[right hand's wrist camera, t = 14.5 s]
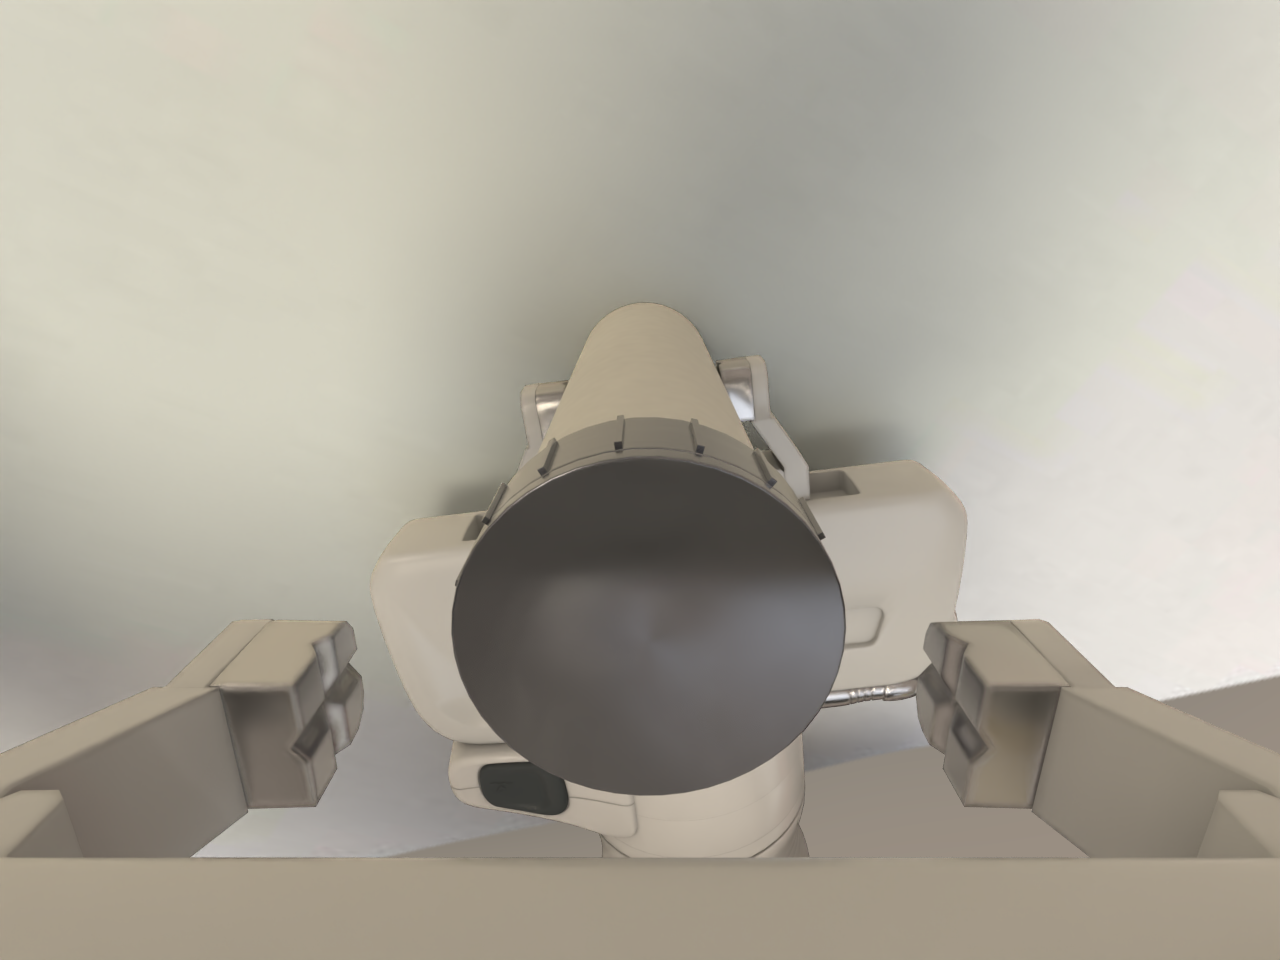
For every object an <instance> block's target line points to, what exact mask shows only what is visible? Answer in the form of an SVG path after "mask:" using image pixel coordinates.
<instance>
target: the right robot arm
mask: <svg viewBox="0 0 1280 960" xmlns="http://www.w3.org/2000/svg"><path fill="white" fill-rule="evenodd" d="M356 650H357V646H356V640H355V635H354V630H353V628H352V626H351V625H350V624H349V623H348V622H347V621H311V620H273V619H259V620H239V621H233V622H231V623H230V624H229V625H228V626H227V627H226V628H225V629H224V630H223V631H222V632H221V633H220V634H219V635H218V636H217V637H216V638H215V639H214V640H213V641H212V642H211V643H210V644H209V645H208V646H207V647H206V648H205V649H204V650H203V651H202V652H201V653H200V654H198V655H197V656H196V657H195V658H194V659H193V660H192V661H191V662H190V663H189V664H188V665H187V666H186V667H185V668H184V669H183V670H182V671H181V672H180V673H179V674H178V675H177V676H176V677H175V678H174V679H173V680H172V681H171V682H170V683H169V684H168V685H167V686H165V687H152V688H150V689H148V690H145V691H143V692H141V693H138V694H136V695H134V696H132V697H129V698H127V699H125V700H122V701H120V702H118V703H116V704H113V705H111V706H109V707H106V708H104V709H102V710H100V711H97V712H95V713H93V714H90V715H88V716H86V717H84V718H81V719H79V720H77V721H74V722H72V723H70V724H68V725H65V726H63V727H61V728H58V729H56V730H54V731H52V732H49V733H47V734H45V735H42V736H40V737H38V738H36V739H33V740H31V741H29V742H26V743H24V744H22V745H19V746H17V747H15V748H13V749H10V750H8V751H6V752H3V753H1V754H0V960H1280V754H1278V753H1276V752H1274V751H1271V750H1269V749H1267V748H1265V747H1262V746H1260V745H1258V744H1256V743H1253V742H1251V741H1249V740H1246V739H1244V738H1242V737H1240V736H1237V735H1235V734H1233V733H1231V732H1228V731H1226V730H1224V729H1221V728H1219V727H1217V726H1214V725H1212V724H1210V723H1208V722H1205V721H1203V720H1201V719H1199V718H1196V717H1194V716H1192V715H1189V714H1187V713H1185V712H1183V711H1180V710H1178V709H1176V708H1173V707H1171V706H1169V705H1167V704H1164V703H1162V702H1160V701H1158V700H1155V699H1153V698H1151V697H1148V696H1146V695H1144V694H1142V693H1139V692H1137V691H1135V690H1132V689H1130V688H1128V687H1115V686H1114V685H1113V684H1111V683H1110V682H1109V681H1108V680H1107V679H1106V678H1105V677H1104V676H1103V675H1102V674H1101V673H1100V672H1099V671H1098V670H1097V669H1096V668H1095V667H1094V666H1093V665H1092V664H1091V663H1090V662H1089V661H1088V660H1087V659H1086V658H1085V657H1084V656H1083V655H1082V654H1081V653H1080V652H1079V651H1078V650H1077V649H1075V648H1074V647H1073V646H1072V645H1071V644H1070V643H1069V642H1068V641H1067V640H1066V639H1065V638H1064V637H1063V636H1062V635H1061V634H1060V633H1059V632H1058V631H1057V630H1056V629H1055V628H1054V627H1053V626H1052V625H1051V624H1050V623H1049V622H1046V621H1043V620H1040V619H1026V620H997V621H956V622H932V623H930V625H929V627H928V629H927V631H926V634H925V639H924V645H923V650H924V651H925V653H926V654H927V656H928V658H929V659H930V661H931V662H932V663H931V664H930V665H929V666H928V667H927V668H926V669H925V670H924V671H923V672H922V673H921V674H920V675H919V676H918V685H917V693H916V701H917V712H918V718H919V721H920V725H921V728H922V731H923V733H924V735H925V737H926V739H927V741H928V743H929V744H930V745H931V746H932V747H934V748H936V749H937V750H939V751H940V752H942V753H943V754H945V759H944V765H943V770H944V771H945V773H946V775H947V777H948V779H949V780H950V782H951V784H952V786H953V788H954V789H955V791H956V793H957V795H958V796H959V798H960V800H961V802H962V803H963V805H964V807H990V808H1026V809H1032V812H1033V813H1034V814H1035V815H1037V816H1038V817H1039V818H1040V819H1042V820H1043V821H1044V822H1046V823H1047V824H1048V825H1049V826H1051V827H1052V828H1053V829H1054V830H1056V831H1057V832H1058V833H1060V834H1061V835H1062V836H1063V837H1065V838H1066V839H1067V840H1069V841H1070V842H1071V843H1072V844H1074V845H1075V846H1076V847H1078V848H1079V849H1080V850H1081V851H1083V852H1084V853H1085V854H1086V855H1088V856H1089V857H1090V858H190V857H191V856H192V855H194V854H195V853H196V852H198V851H199V850H200V849H201V848H203V847H204V846H205V845H207V844H208V843H209V842H210V841H212V840H213V839H214V838H216V837H217V836H218V835H219V834H221V833H222V832H223V831H225V830H226V829H227V828H228V827H230V826H231V825H232V824H234V823H235V822H236V821H237V820H239V819H240V818H241V817H242V816H244V815H245V814H246V813H248V809H254V808H289V807H316V805H317V804H318V802H319V800H320V798H321V796H322V795H323V793H324V791H325V789H326V788H327V786H328V784H329V782H330V780H331V779H332V777H333V775H334V773H335V772H336V770H337V765H336V759H335V754H337V753H338V752H340V751H341V750H343V749H344V748H346V747H348V746H349V745H350V744H351V742H352V741H353V739H354V737H355V735H356V733H357V731H358V729H359V725H360V720H361V716H362V712H363V699H364V690H363V683H362V676H361V675H360V674H359V673H358V672H357V671H356V670H355V669H354V668H353V667H352V666H351V665H350V664H349V663H348V662H349V661H350V659H351V658H352V656H353V654H354V653H355V651H356Z"/></svg>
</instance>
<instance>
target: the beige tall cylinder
mask: <svg viewBox="0 0 1280 960" xmlns="http://www.w3.org/2000/svg"><path fill="white" fill-rule="evenodd" d="M618 415H624V418H625V419H627V418H636V417H660V418H669V419H678V420H684V421H688V422H690V421H691V418H693V419H697V420H698V422H699V424H700V425H704V426H707V427H709V428H712V429H715V430H717V431H720V432H722V433H725V434H727V435H729V436H731V437H733V438H734V439H736V440H738V441H740V442H742V443H744V444H745V445H747V446H748V447H750V448H751V449H752V450H754V449H753V446H752V444H751V442H750V440H749V438H748V436H747V434H746V431H745V429H744V427H743V425H742V423H741V421H740V419H739V416H738V414H737V412H736V410H735V408H734V406H733V404H732V402H731V399H730V397H729V395H728V393H727V391H726V389H725V387H724V384H723V382H722V380H721V378H720V376H719V374H718V372H717V369H716V367H715V365H714V363H713V361H712V359H711V357H710V355H709V352H708V350H707V348H706V346H705V344H704V342H703V340H702V338H701V336H700V334H699V332H698V331H697V329H696V328H695V327H694V325H693V324H692V323H691V322H690V321H689V320H688V319H687V318H686V317H684V316H683V315H682V314H680V313H679V312H677V311H675V310H674V309H671V308H669V307H667V306H664V305H660V304H655V303H635V304H629V305H626V306H623V307H620V308H618V309H616V310H614V311H612V312H611V313H609V314H608V315H606V316H605V317H604V318H603V319H601V320H600V322H599V323H598V324H597V325H596V326H595V327H594V329H593V330H592V331H591V333H590V335H589V337H588V338H587V340H586V343H585V345H584V347H583V350H582V352H581V354H580V357H579V359H578V361H577V363H576V366H575V368H574V370H573V373H572V375H571V377H570V380H569V382H568V384H567V387H566V389H565V391H564V393H563V396H562V398H561V400H560V403H559V405H558V407H557V410H556V412H555V414H554V416H553V419H552V421H551V423H550V426H549V428H548V430H547V433H546V435H545V437H544V440H543V442H542V444H541V446H540V449H539V451H538V453H539V452H541V451H542V450H543V449H544V448H546V447H547V444H548V442H549V440H551V439H552V438H555V439H556V440H557V441H558V440H560V439H561V438H563V437H565V436H567V435H569V434H572V433H574V432H576V431H579V430H581V429H584V428H586V427H589V426H593V425H597V424H600V423H604V422H607V421H612V420H617V416H618ZM538 453H537V454H538Z"/></svg>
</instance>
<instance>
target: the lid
mask: <svg viewBox="0 0 1280 960" xmlns="http://www.w3.org/2000/svg"><path fill="white" fill-rule="evenodd" d="M481 522H483V523H484V526H483V528H482V530H481V532H480V534H479V536H478V538H477V540H476V541H475V543H474V545H473V547H472V549H471V551H470V553H469V555H468V557H467V559H466V561H465V563H464V565H463V567H462V569H461V571H460V573H459V575H458V577H457V579H456V582H455V586H456V589H455V595H454V601H453V606H452V618H451V636H452V644H453V652H454V657H455V660H456V664H457V668H458V671H459V675H460V678H461V680H462V682H463V684H464V687H465V689H466V691H467V693H468V696H469V698H470V699H471V701H472V703H473V704H474V706H475V707H476V709H477V711H478V712H479V714H480V715H481V717H482V718H483V719H484V720H485V722H486V723H487V724H488V725H489V726H490V728H491V729H492V730H493V731H494V732H495V734H497V735H498V736H499V737H500V738H501V739H502V740H503V741H504V742H505V743H506V744H507V745H508V746H509V747H510V748H511V749H513V750H514V751H516V752H517V753H518V754H520V755H521V756H522V757H524V758H525V759H526V760H528V761H529V762H531V763H533V764H534V765H536V766H538V767H540V768H541V769H543V770H545V771H547V772H548V773H550V774H553V775H555V776H557V777H560V778H562V779H564V780H567V781H569V782H571V783H575V784H578V785H581V786H584V787H588V788H591V789H595V790H600V791H605V792H610V793H615V794H625V795H636V796H662V795H671V794H680V793H687V792H692V791H696V790H701V789H706V788H709V787H713V786H716V785H719V784H722V783H725V782H728V781H731V780H733V779H735V778H737V777H739V776H741V775H744V774H746V773H748V772H750V771H752V770H754V769H755V768H757V767H759V766H760V765H762V764H764V763H766V762H767V761H769V760H771V759H772V758H773V757H774V756H776V755H777V754H778V753H780V752H781V751H782V750H784V749H785V748H786V747H788V746H789V745H790V744H791V743H792V742H793V741H794V740H795V739H796V738H797V737H798V736H799V735H800V734H801V733H802V732H803V731H804V730H805V729H806V728H807V726H808V725H809V724H810V723H811V721H812V720H813V719H814V717H815V716H816V715H817V714H818V712H819V711H820V709H821V707H822V706H823V704H824V702H825V701H826V699H827V697H828V696H829V694H830V692H831V689H832V687H833V684H834V682H835V680H836V677H837V675H838V672H839V668H840V664H841V661H842V657H843V653H844V646H845V636H846V613H845V603H844V598H843V593H842V589H841V584H840V581H839V578H838V576H837V573H836V570H835V568H834V565H833V562H832V560H831V558H830V557H829V555H828V553H827V551H826V549H825V547H824V546H823V544H822V542H821V540H822V539H824V538H826V537H825V535H824V533H823V531H822V529H821V528H820V526H819V524H818V522H817V521H816V519H815V517H814V515H813V513H812V512H811V510H810V508H809V506H808V505H807V503H806V501H805V499H804V497H801V498H800V499H798V498H797V496H796V494H795V493H794V491H793V490H792V488H791V487H790V486H789V484H788V483H787V482H786V480H785V479H784V478H783V477H782V475H781V474H780V473H779V472H778V471H777V470H776V469H775V468H774V467H773V466H772V465H771V464H770V463H769V462H768V461H767V460H766V458H765V456H764V454H763V452H762V450H760V449H759V448H758V447H757V448H756V449H755V450H752V449H751V448H750V447H748V446H747V445H745V444H744V443H742V442H740V441H738V440H736V439H734V438H733V437H731V436H729V435H727V434H725V433H722V432H720V431H717V430H715V429H712V428H709V427H707V426H704V425H700V424H699V422H698V420H697V419H693V418H691V421H690V422H688V421H684V420H678V419H669V418H660V417H636V418H627V419H625V418H624V415H618V416H617V420H612V421H607V422H604V423H600V424H597V425H593V426H589V427H586V428H584V429H581V430H579V431H576V432H574V433H572V434H569V435H567V436H565V437H563V438H561V439H560V440H558V441H557V440H556V439H555V438H552V439H551V440H549V442H548V444H547V447H546V448H544V449H543V450H542V451H541V452H539V453H538V454H537V455H536V456H534V457H533V458H532V459H530V460H529V461H528V462H527V463H526V464H525V465H524V466H523V467H522V468H521V469H520V470H519V471H518V472H517V473H516V474H515V475H514V476H513V477H512V479H511V480H510V481H509V483H508V484H507V485H506V484H504V483H502V484H501V485H500V486H499V488H498V490H497V492H496V494H495V496H494V498H493V500H492V501H491V503H490V505H489V507H488V509H487V511H486V513H485V515H484V517H483V519H482V521H481Z"/></svg>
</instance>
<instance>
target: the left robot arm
mask: <svg viewBox="0 0 1280 960" xmlns="http://www.w3.org/2000/svg"><path fill="white" fill-rule="evenodd" d="M716 369H717V372H718V374H719V376H720V378H721V380H722V382H723V384H724V387H725V389H726V391H727V393H728V395H729V397H730V399H731V402H732V404H733V406H734V408H735V410H736V412H737V414H738V416H739V419H740V421H751V423H752V424H753V426H754V427H755V429H756V430H757V431H758V433H759V434H760V435H761V437H762V438H763V440H764V441H765V442H766V444H767V445H768V446H769V448H770V449H771V450H762V452H763V454H764V456H765V458H766V460H767V461H768V462H769V463H770V464H771V465H772V466H773V467H774V468H775V469H776V470H777V471H778V472H779V473H780V474H781V475H782V477H783V478H784V479H785V480H786V482H787V483H788V484H789V486H790V487H791V488H792V490H793V491H794V493H795V494H796V496H797V498H798V499H800V498H801V497H804V499H805V501H806V503H807V505H808V506H809V508H810V510H811V512H812V513H813V515H814V517H815V519H816V521H817V522H818V524H819V526H820V528H821V529H822V531H823V533H824V535H825V537H826V538H824V539H822V540H821V542H822V544H823V546H824V547H825V549H826V551H827V553H828V555H829V557H830V558H831V560H832V562H833V565H834V568H835V570H836V573H837V576H838V578H839V581H840V584H841V589H842V593H843V598H844V603H845V613H846V636H845V646H844V653H843V657H842V661H841V664H840V668H839V672H838V675H837V677H836V680H835V682H834V684H833V687H832V689H831V692H830V694H829V696H828V697H827V699H826V701H825V702H824V704H823V706H822V707H821V708H829V707H838V706H845V705H849V704H854V703H857V702H863V701H870V700H880V699H882V700H883V701H896V700H903V699H907V698H911V697H913V696H916V693H917V685H918V676H919V675H920V674H921V673H922V672H923V671H924V670H925V669H926V668H927V667H928V666H929V665H930V664H931V663H932V662H931V661H930V659H929V658H928V656H927V654H926V653H925V651H924V650H923V645H924V639H925V634H926V631H927V629H928V627H929V625H930V623H932V622H956V621H958V620H957V615H956V611H955V607H956V602H957V598H958V593H959V588H960V582H961V576H962V571H963V563H964V556H965V547H966V538H967V514H966V511H965V508H964V506H963V504H962V502H961V501H960V500H959V498H958V497H957V496H956V495H955V493H954V492H953V491H952V490H951V489H950V488H949V487H948V486H947V485H946V484H945V483H944V482H943V481H942V480H941V479H940V478H938V477H937V476H936V475H935V474H933V473H932V472H931V471H929V470H928V469H927V468H925V467H924V466H923V465H921V464H920V463H918V462H916V461H913V460H898V461H890V462H882V463H873V464H865V465H857V466H849V467H840V468H832V469H824V470H816V471H809V466H808V464H807V463H806V461H805V459H804V458H803V456H802V455H801V453H800V452H799V450H798V449H797V447H796V445H795V444H794V443H793V441H792V440H791V438H790V437H789V436H788V434H787V433H786V432H785V430H784V429H783V427H782V426H781V425H780V423H779V422H778V420H777V419H776V418H775V416H774V415H773V413H772V412H771V411H770V401H769V387H768V373H767V369H766V364H765V361H764V359H763V358H762V357H761V356H760V355H753V356H746V357H738V358H731V359H724V360H717V361H716ZM568 382H569V381H568V380H564V381H555V382H546V383H536V384H530V385H525V386H524V388H523V389H522V391H521V393H520V402H521V411H522V416H523V421H524V426H525V431H526V437H527V442H528V444H527V446H526V448H525V451H524V453H523V456H522V459H521V461H520V464H519V467H518V470H517V472H518V471H519V470H520V469H521V468H522V467H523V466H524V465H525V464H526V463H527V462H528V461H529V460H530V459H532V458H533V457H534V456H536V455H537V453H538V451H539V449H540V446H541V444H542V442H543V440H544V437H545V435H546V433H547V430H548V428H549V426H550V423H551V421H552V419H553V416H554V414H555V412H556V410H557V407H558V405H559V403H560V400H561V398H562V396H563V393H564V391H565V389H566V387H567V384H568ZM517 472H516V473H517ZM486 511H487V510H485V511H477V512H469V513H461V514H452V515H444V516H436V517H427V518H419V519H414V520H411V521H409V522H408V523H406V524H405V525H404V526H403V527H402V528H401V529H400V531H399V532H398V533H397V534H396V535H395V537H394V538H393V539H392V540H391V541H390V543H389V544H388V545H387V547H386V548H385V550H384V551H383V553H382V555H381V556H380V558H379V559H378V561H377V563H376V565H375V568H374V570H373V572H372V575H371V580H370V593H371V598H372V602H373V606H374V610H375V613H376V616H377V620H378V623H379V626H380V629H381V631H382V634H383V637H384V640H385V643H386V645H387V648H388V651H389V653H390V656H391V658H392V661H393V663H394V666H395V668H396V670H397V673H398V675H399V677H400V680H401V682H402V684H403V686H404V689H405V691H406V693H407V695H408V697H409V699H410V701H411V703H412V705H413V706H414V708H415V710H416V711H417V712H418V714H419V715H420V717H421V718H422V719H423V720H424V722H425V723H426V724H427V725H428V726H430V727H431V728H432V729H433V730H434V731H436V732H437V733H439V734H440V735H442V736H444V737H446V738H448V739H451V740H454V741H453V745H452V751H451V756H450V762H449V768H448V775H449V781H450V785H451V788H452V791H453V793H454V794H455V796H456V797H457V798H458V799H459V800H460V801H461V802H463V803H465V804H467V805H470V806H474V807H479V808H485V809H491V810H498V811H505V812H511V813H518V814H524V815H529V816H535V817H540V818H545V819H550V820H554V821H559V822H563V823H566V824H570V825H574V826H578V827H581V828H584V829H587V830H590V831H593V832H596V833H599V835H600V838H601V842H602V858H809V853H808V848H807V844H806V841H805V838H804V835H803V832H802V830H801V828H800V826H799V821H800V818H801V814H802V810H803V806H804V797H805V774H804V759H803V743H802V733H801V734H800V735H799V736H798V737H797V738H796V739H795V740H794V741H793V742H792V743H791V744H790V745H789V746H788V747H786V748H785V749H784V750H782V751H781V752H780V753H778V754H777V755H776V756H774V757H773V758H772V759H771V760H769V761H767V762H766V763H764V764H762V765H760V766H759V767H757V768H755V769H754V770H752V771H750V772H748V773H746V774H744V775H741V776H739V777H737V778H735V779H733V780H731V781H728V782H725V783H722V784H719V785H716V786H713V787H709V788H706V789H701V790H696V791H692V792H687V793H680V794H671V795H662V796H636V795H625V794H615V793H610V792H605V791H600V790H595V789H591V788H588V787H584V786H581V785H578V784H575V783H571V782H569V781H567V780H564V779H562V778H560V777H557V776H555V775H553V774H550V773H548V772H547V771H545V770H543V769H541V768H540V767H538V766H536V765H534V764H533V763H531V762H529V761H528V760H526V759H525V758H524V757H522V756H521V755H520V754H518V753H517V752H516V751H514V750H513V749H511V748H510V747H509V746H508V745H507V744H506V743H505V742H504V741H503V740H502V739H501V738H500V737H499V736H498V735H497V734H495V732H494V731H493V730H492V729H491V728H490V726H489V725H488V724H487V723H486V722H485V720H484V719H483V718H482V717H481V715H480V714H479V712H478V711H477V709H476V707H475V706H474V704H473V703H472V701H471V699H470V698H469V696H468V693H467V691H466V689H465V687H464V684H463V682H462V680H461V678H460V675H459V671H458V668H457V664H456V660H455V657H454V652H453V644H452V636H451V618H452V606H453V601H454V595H455V589H456V586H455V582H456V579H457V577H458V575H459V573H460V571H461V569H462V567H463V565H464V563H465V561H466V559H467V557H468V555H469V553H470V551H471V549H472V547H473V545H474V543H475V541H476V540H477V538H478V536H479V534H480V532H481V530H482V528H483V526H484V523H483V522H481V521H482V519H483V517H484V515H485V513H486Z"/></svg>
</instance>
